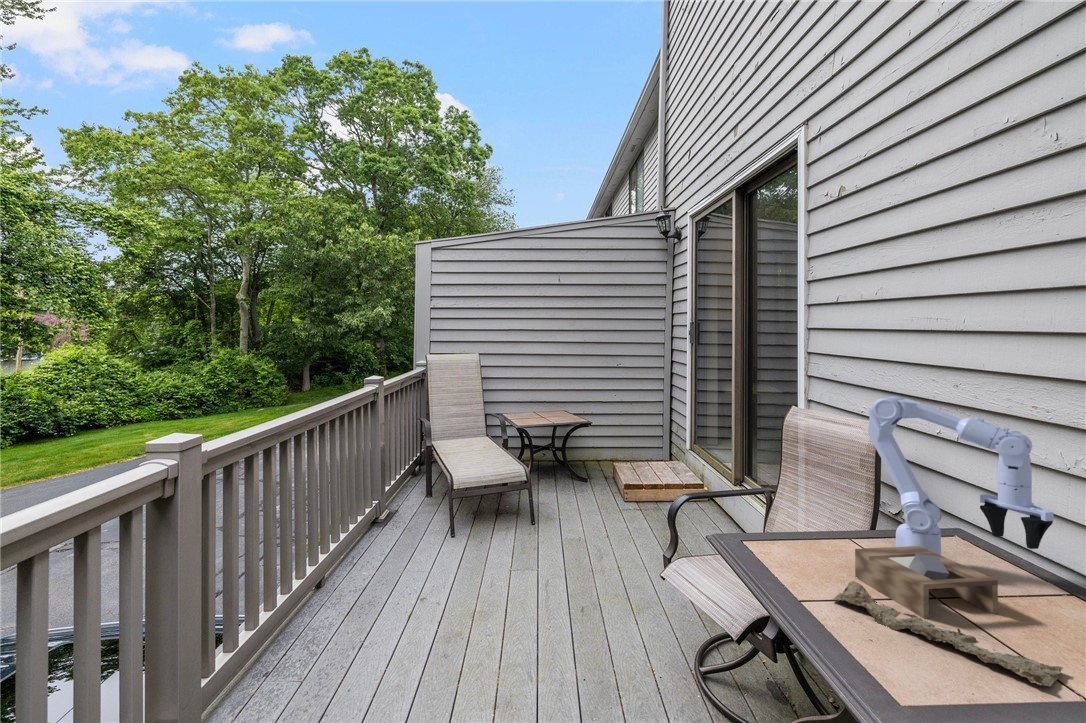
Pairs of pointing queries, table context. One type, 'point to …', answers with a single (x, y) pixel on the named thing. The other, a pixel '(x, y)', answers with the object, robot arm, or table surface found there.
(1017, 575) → the table surface
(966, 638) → the tree branch
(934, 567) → the granite block
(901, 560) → the trapdoor
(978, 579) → the box
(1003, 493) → the robot arm
